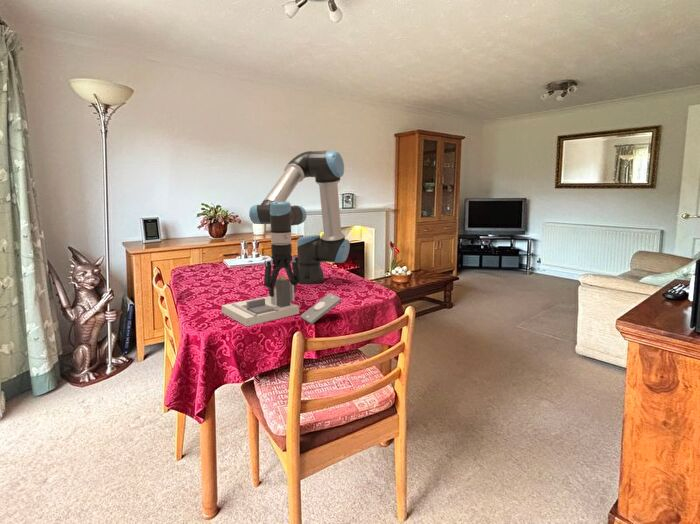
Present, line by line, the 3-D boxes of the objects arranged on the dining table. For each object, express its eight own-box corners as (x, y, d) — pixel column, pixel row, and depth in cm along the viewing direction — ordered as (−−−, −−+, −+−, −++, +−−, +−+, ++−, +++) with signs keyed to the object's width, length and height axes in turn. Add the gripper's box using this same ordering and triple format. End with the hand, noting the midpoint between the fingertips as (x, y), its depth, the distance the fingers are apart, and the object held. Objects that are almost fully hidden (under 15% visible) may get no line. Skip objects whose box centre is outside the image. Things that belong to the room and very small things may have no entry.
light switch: (298, 313, 150) (328, 291, 155) (305, 325, 152) (334, 302, 158) (309, 320, 143) (340, 296, 148) (316, 332, 145) (346, 308, 150)
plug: (275, 305, 156) (274, 276, 154) (284, 303, 158) (283, 275, 156) (281, 307, 153) (280, 278, 151) (290, 305, 155) (289, 277, 153)
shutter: (246, 309, 149) (246, 301, 149) (263, 306, 154) (263, 298, 153) (256, 314, 144) (255, 305, 143) (273, 310, 149) (273, 302, 148)
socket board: (222, 312, 156) (221, 303, 155) (272, 302, 170) (271, 294, 169) (246, 326, 141) (246, 316, 140) (299, 313, 155) (299, 304, 154)
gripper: (262, 247, 142) (264, 310, 146) (309, 242, 155) (310, 299, 159) (252, 244, 147) (254, 305, 152) (298, 240, 160) (299, 295, 165)
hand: (282, 302), depth 155 cm, fingers open, 7 cm apart
